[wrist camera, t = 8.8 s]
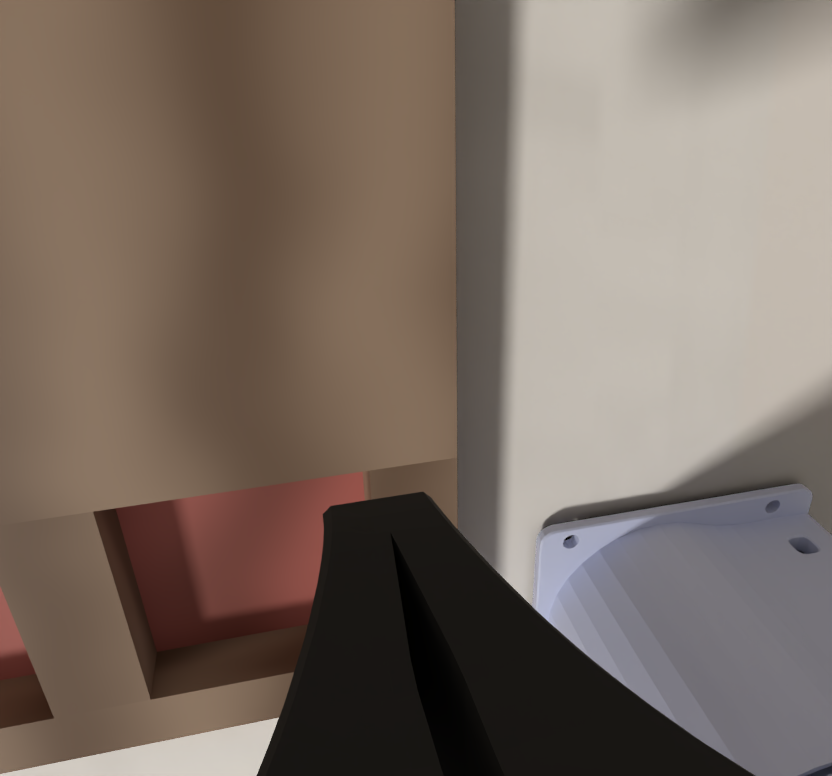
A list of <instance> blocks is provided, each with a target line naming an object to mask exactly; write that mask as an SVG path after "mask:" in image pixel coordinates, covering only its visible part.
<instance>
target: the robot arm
mask: <svg viewBox="0 0 832 776" xmlns="http://www.w3.org/2000/svg"><path fill="white" fill-rule="evenodd" d="M812 496H813V494H812V492H811V491H810V490H809V489H808V488H807V487H806V486H804V485H803V484H791V485H785V486H779V487H773V488H767V489H761V490H755V491H749V492H743V493H738V494H732V495H726V496H720V497H714V498H708V499H702V500H696V501H690V502H684V503H678V504H672V505H666V506H660V507H655V508H649V509H643V510H637V511H631V512H625V513H619V514H613V515H607V516H601V517H595V518H589V519H583V520H577V521H572V522H566V523H560V524H554V525H550V526H547V527H545V528H544V529H543V530H541V532H540V533H539V534H538V536H537V540H536V555H535V572H534V588H533V604H532V606H531V605H530V604H529V603H528V602H527V601H526V600H525V599H524V598H523V597H522V596H521V595H520V594H519V593H518V592H517V591H516V590H515V589H514V588H513V587H512V586H511V585H510V584H509V583H508V582H507V581H506V580H505V579H504V578H503V577H502V576H501V575H500V574H499V573H498V572H497V571H496V570H495V569H494V568H493V567H492V566H491V565H490V564H489V563H488V562H487V561H486V560H485V559H484V558H483V557H482V556H481V555H480V554H479V553H478V552H477V550H476V549H475V548H474V547H473V546H472V545H471V544H470V543H469V542H468V541H467V539H466V538H465V537H464V536H463V535H462V534H461V533H460V532H459V530H458V529H457V528H456V527H455V526H454V525H453V524H452V522H451V521H450V520H449V519H448V518H447V516H446V515H445V514H444V513H443V512H442V510H441V509H440V508H439V507H438V505H437V504H436V503H435V502H434V500H433V499H432V498H431V497H430V496H428V495H427V494H426V493H424V492H417V493H410V494H404V495H397V496H391V497H384V498H378V499H372V500H365V501H359V502H352V503H346V504H339V505H333V506H330V507H329V508H328V509H327V510H326V511H325V512H324V513H323V523H324V536H323V550H322V558H321V565H320V571H319V577H318V583H317V587H316V592H315V596H314V600H313V605H312V609H311V613H310V618H309V622H308V626H307V630H306V634H305V638H304V642H303V645H302V648H301V651H300V655H299V658H298V661H297V664H296V667H295V671H294V674H293V677H292V680H291V684H290V687H289V690H288V693H287V697H286V700H285V702H284V705H283V708H282V711H281V714H280V717H279V719H278V722H277V725H276V728H275V730H274V733H273V736H272V738H271V741H270V744H269V746H268V749H267V751H266V754H265V756H264V759H263V761H262V764H261V766H260V769H259V771H258V774H257V776H832V535H831V534H830V533H829V532H828V531H827V530H825V529H824V528H823V527H822V526H821V525H820V524H819V523H818V522H817V521H816V520H814V519H813V518H812V517H811V516H810V515H809V514H808V512H809V509H810V505H811V502H812ZM768 503H769V504H768ZM571 535H573V536H572V537H571V538H570V539H568V540H564V539H566V538H567V537H568V536H571Z"/></svg>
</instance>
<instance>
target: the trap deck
mask: <svg viewBox="0 0 832 776" xmlns="http://www.w3.org/2000/svg"><path fill="white" fill-rule="evenodd" d="M417 492H424V493H426V494H427V495H428V496H430V497H431V498H432V499H433V500H434V502H435V503H436V504H437V505H438V507H439V508H440V509H441V510H442V512H443V513H444V514H445V515H446V516H447V518H448V519H449V520H450V521H451V522H452V524H453V525H454V526H455V527H456V528H457V529H458V505H457V322H456V138H455V0H0V774H2V773H7V772H12V771H17V770H22V769H27V768H32V767H36V766H41V765H46V764H51V763H56V762H61V761H66V760H71V759H76V758H81V757H86V756H91V755H96V754H101V753H106V752H110V751H115V750H120V749H125V748H130V747H135V746H140V745H145V744H150V743H155V742H160V741H165V740H170V739H175V738H180V737H184V736H189V735H194V734H199V733H204V732H209V731H214V730H219V729H224V728H229V727H234V726H239V725H244V724H249V723H254V722H258V721H263V720H268V719H273V718H278V717H280V714H281V711H282V708H283V705H284V702H285V700H286V697H287V693H288V690H289V687H290V684H291V680H292V677H293V674H294V671H295V667H296V664H297V661H298V658H299V655H300V651H301V648H302V645H303V642H304V638H305V634H306V630H307V626H308V622H309V618H310V613H311V609H312V605H313V600H314V596H315V592H316V587H317V583H318V577H319V571H320V565H321V558H322V550H323V536H324V523H323V513H324V512H325V511H326V510H327V509H328V508H329V507H330V506H333V505H339V504H346V503H352V502H359V501H365V500H372V499H378V498H384V497H391V496H397V495H404V494H410V493H417Z"/></svg>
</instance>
